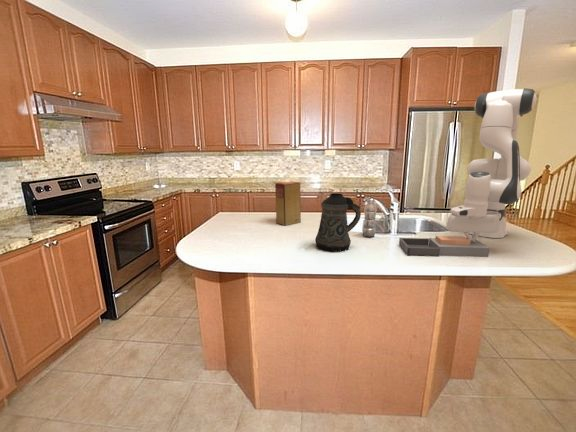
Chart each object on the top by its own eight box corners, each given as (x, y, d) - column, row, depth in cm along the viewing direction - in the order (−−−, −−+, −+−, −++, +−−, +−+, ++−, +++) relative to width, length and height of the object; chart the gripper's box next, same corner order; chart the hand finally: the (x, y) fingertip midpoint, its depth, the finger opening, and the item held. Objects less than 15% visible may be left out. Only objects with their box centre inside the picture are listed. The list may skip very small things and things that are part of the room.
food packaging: (291, 219, 191) (291, 181, 185) (301, 222, 184) (301, 182, 178) (275, 223, 183) (274, 182, 177) (284, 226, 176) (284, 184, 170)
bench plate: (428, 246, 138) (429, 238, 137) (474, 247, 135) (475, 239, 134) (438, 255, 126) (439, 246, 125) (488, 256, 124) (489, 247, 123)
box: (399, 244, 140) (399, 237, 139) (427, 245, 139) (428, 238, 138) (407, 255, 127) (407, 247, 126) (439, 256, 125) (439, 248, 124)
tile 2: (449, 240, 133) (449, 235, 132) (463, 240, 132) (463, 236, 132) (455, 244, 127) (455, 240, 127) (469, 245, 126) (470, 240, 126)
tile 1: (435, 240, 134) (435, 235, 133) (449, 240, 133) (449, 235, 132) (440, 244, 128) (441, 239, 127) (455, 244, 127) (455, 239, 127)
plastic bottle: (360, 236, 154) (361, 198, 149) (366, 233, 159) (368, 196, 154) (371, 239, 149) (373, 200, 145) (377, 236, 154) (380, 198, 149)
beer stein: (309, 243, 144) (309, 192, 138) (344, 238, 150) (345, 190, 145) (325, 254, 129) (326, 198, 123) (363, 248, 135) (365, 195, 130)
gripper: (496, 209, 128) (491, 239, 131) (446, 208, 130) (443, 238, 133) (505, 212, 122) (500, 244, 125) (453, 211, 124) (449, 243, 127)
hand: (470, 241), depth 129 cm, fingers closed
